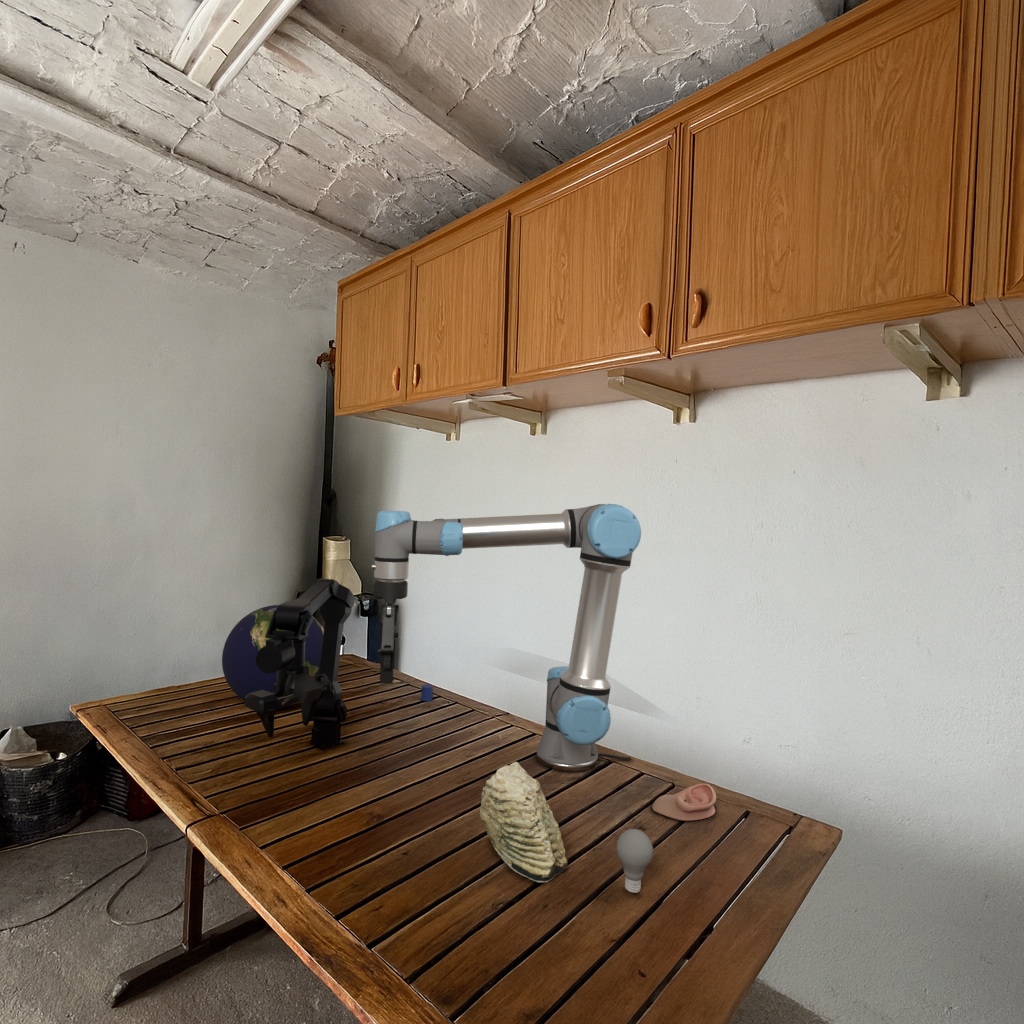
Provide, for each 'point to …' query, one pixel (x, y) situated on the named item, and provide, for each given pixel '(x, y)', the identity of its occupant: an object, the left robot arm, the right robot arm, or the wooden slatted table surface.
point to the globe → (245, 647)
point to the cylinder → (426, 692)
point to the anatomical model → (687, 803)
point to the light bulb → (634, 857)
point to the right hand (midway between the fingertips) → (387, 674)
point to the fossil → (522, 824)
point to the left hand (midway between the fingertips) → (288, 731)
